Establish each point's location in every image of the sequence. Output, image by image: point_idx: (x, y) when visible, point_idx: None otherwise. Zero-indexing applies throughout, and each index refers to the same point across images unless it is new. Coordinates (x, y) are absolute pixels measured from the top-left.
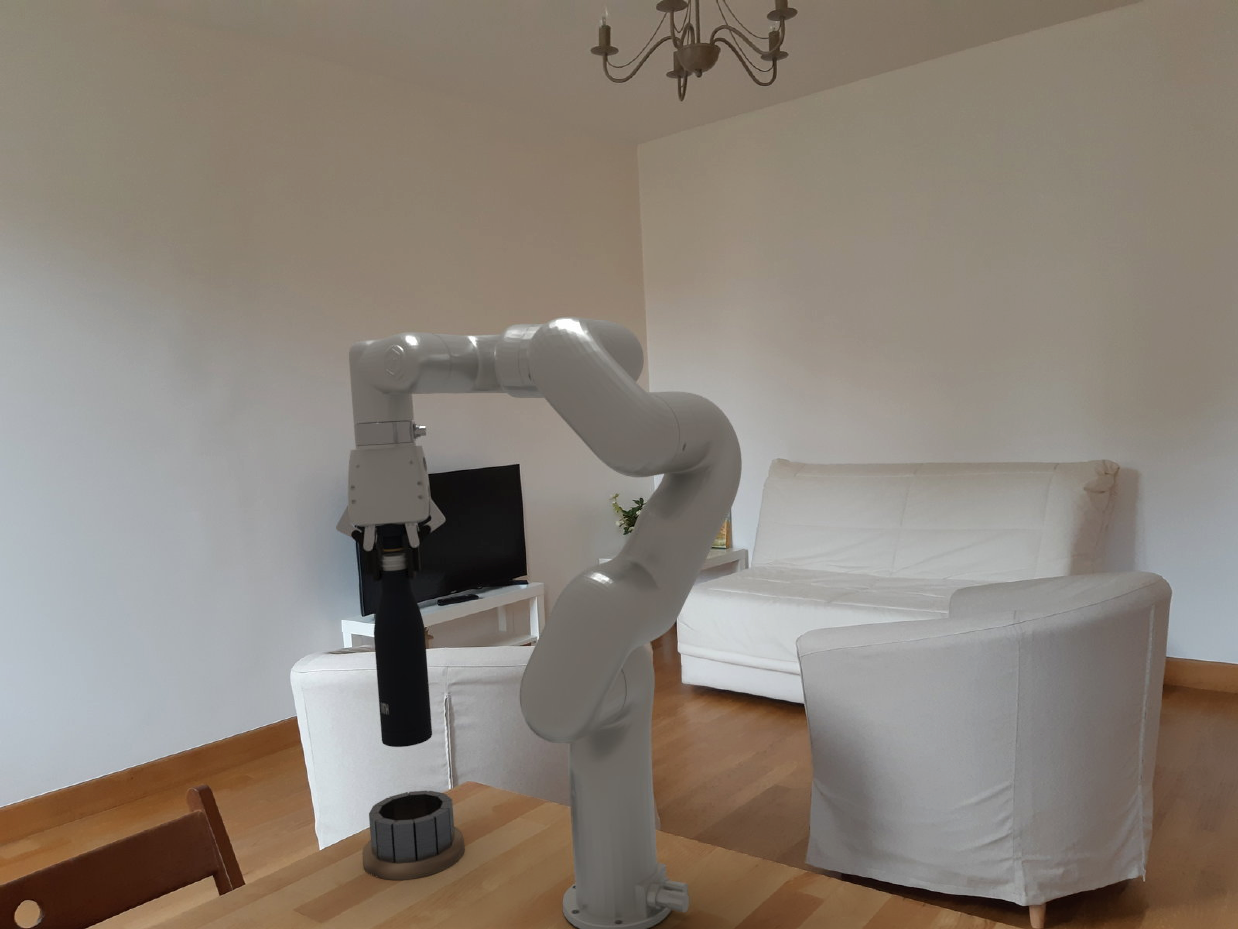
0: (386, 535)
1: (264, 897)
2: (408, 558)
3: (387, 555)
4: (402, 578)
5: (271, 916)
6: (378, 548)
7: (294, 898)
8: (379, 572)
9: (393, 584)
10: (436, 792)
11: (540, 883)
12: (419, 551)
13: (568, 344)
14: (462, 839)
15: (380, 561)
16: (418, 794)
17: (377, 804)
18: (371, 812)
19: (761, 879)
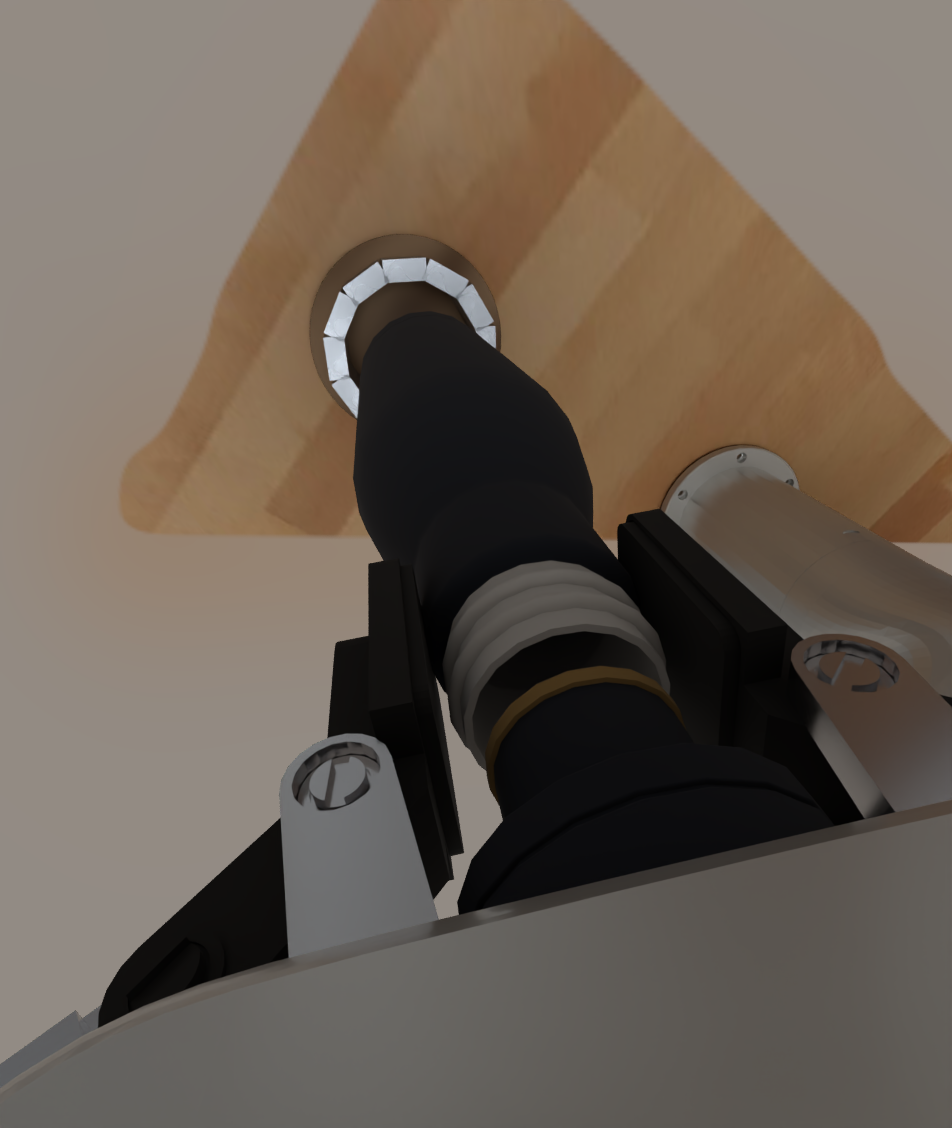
0: None
1: (192, 474)
2: None
3: (494, 667)
4: (584, 662)
5: (240, 528)
6: (419, 730)
7: (248, 478)
8: (438, 700)
9: (522, 667)
10: (450, 274)
11: (628, 449)
12: (793, 632)
13: None
14: (498, 329)
15: (429, 670)
16: (409, 280)
17: (330, 331)
18: (333, 375)
19: (914, 452)
